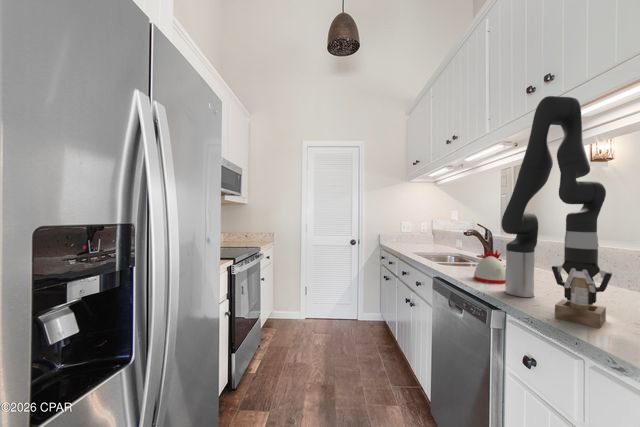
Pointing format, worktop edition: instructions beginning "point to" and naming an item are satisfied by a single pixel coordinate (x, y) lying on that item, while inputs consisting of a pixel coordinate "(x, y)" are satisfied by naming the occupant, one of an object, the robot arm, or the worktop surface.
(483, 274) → the white rounded dome
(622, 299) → the worktop surface
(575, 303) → the sprinkles bottle
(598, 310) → the walnut holder
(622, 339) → the worktop surface
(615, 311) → the worktop surface
